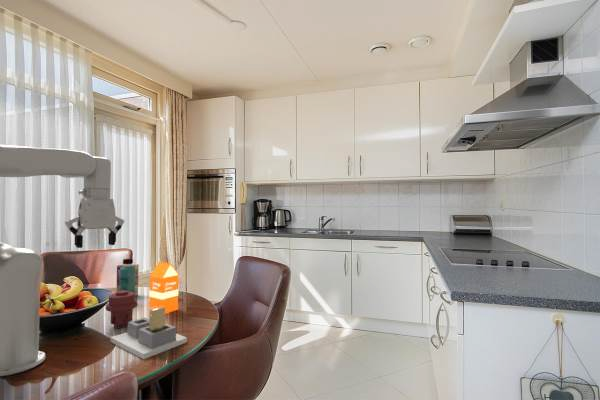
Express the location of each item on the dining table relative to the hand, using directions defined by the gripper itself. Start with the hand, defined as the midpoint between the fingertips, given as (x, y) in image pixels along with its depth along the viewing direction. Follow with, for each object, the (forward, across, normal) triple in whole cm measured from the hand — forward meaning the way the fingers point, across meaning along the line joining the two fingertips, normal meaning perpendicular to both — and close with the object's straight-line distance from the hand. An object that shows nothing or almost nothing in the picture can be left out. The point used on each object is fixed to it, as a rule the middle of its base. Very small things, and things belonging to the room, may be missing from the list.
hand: (96, 246), depth 104 cm
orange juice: (+31, +30, +9) cm, 44 cm away
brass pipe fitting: (+29, +9, -22) cm, 37 cm away
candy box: (+31, +32, +44) cm, 62 cm away
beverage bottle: (+31, +26, +32) cm, 51 cm away
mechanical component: (+31, +11, +5) cm, 33 cm away
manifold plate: (+30, +9, -17) cm, 36 cm away
